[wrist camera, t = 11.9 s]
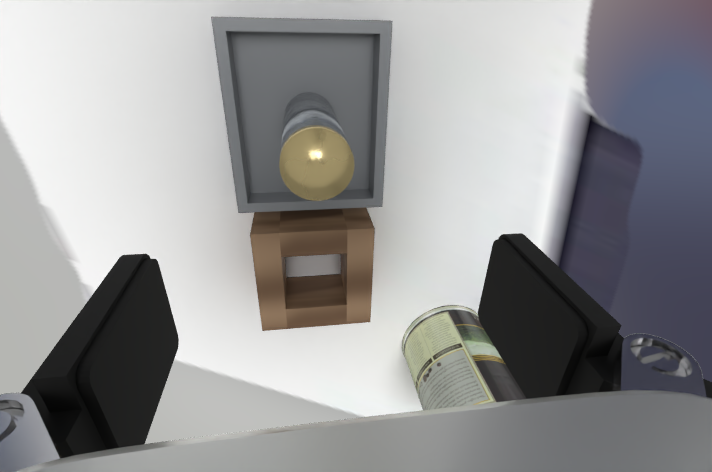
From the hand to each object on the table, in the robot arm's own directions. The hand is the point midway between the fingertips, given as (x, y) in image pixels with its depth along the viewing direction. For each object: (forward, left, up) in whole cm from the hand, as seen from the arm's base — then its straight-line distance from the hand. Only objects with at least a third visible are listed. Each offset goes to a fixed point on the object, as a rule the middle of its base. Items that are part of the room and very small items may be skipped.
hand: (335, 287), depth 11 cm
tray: (0, 0, -24) cm, 24 cm away
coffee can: (+26, +15, -24) cm, 39 cm away
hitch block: (+13, 0, -24) cm, 27 cm away
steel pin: (0, 0, -23) cm, 23 cm away
